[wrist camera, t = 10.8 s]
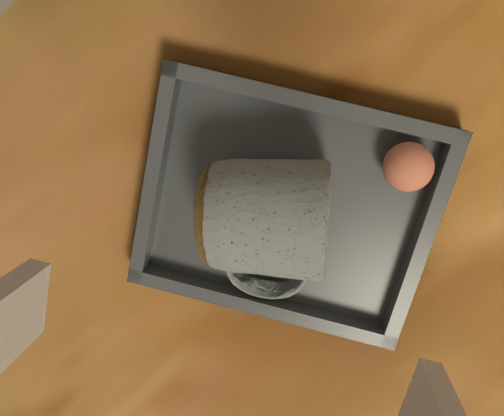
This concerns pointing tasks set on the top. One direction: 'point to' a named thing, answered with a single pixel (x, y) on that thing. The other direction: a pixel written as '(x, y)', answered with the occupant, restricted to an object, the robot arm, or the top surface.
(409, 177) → the ball
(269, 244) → the ceramic mug
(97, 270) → the top surface
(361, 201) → the tray
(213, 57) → the top surface
